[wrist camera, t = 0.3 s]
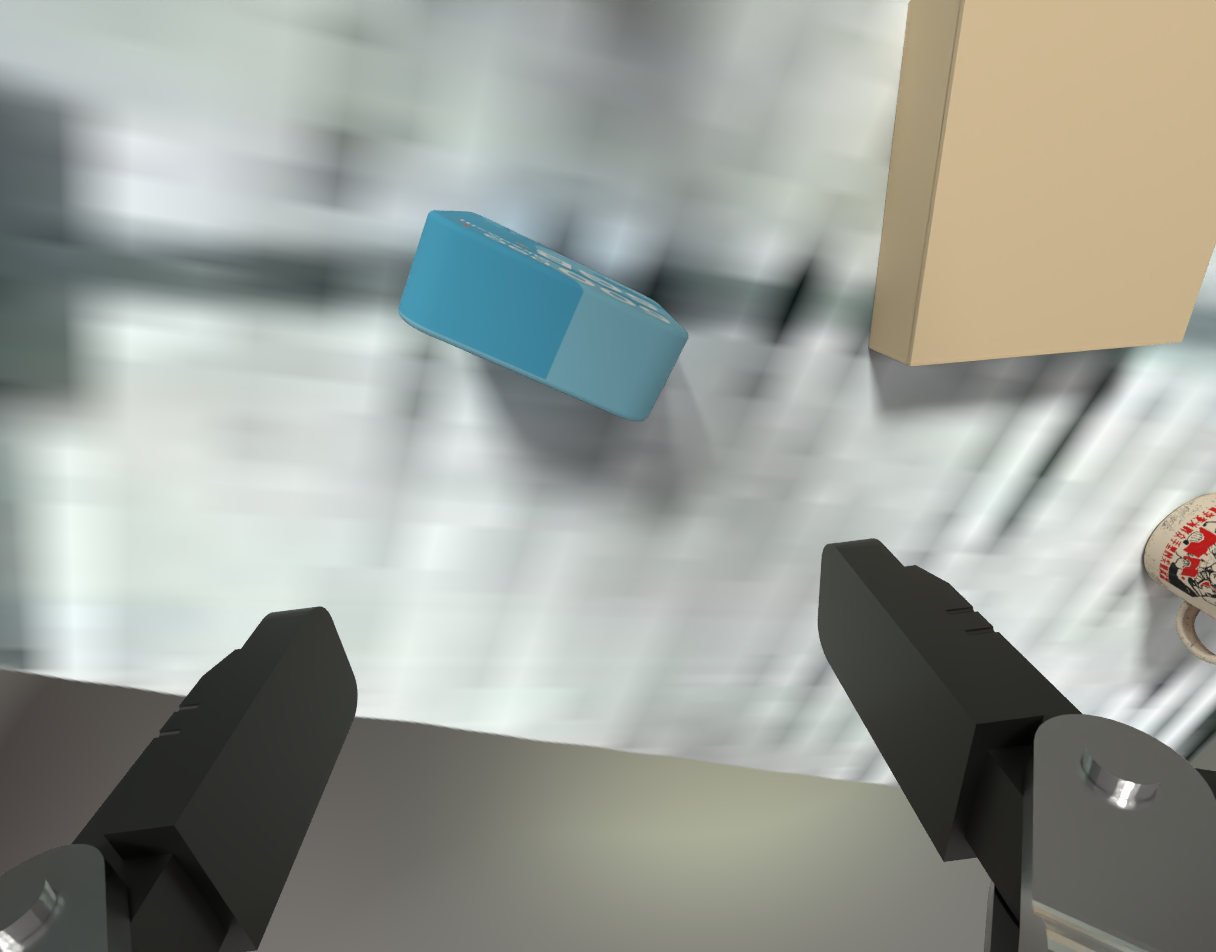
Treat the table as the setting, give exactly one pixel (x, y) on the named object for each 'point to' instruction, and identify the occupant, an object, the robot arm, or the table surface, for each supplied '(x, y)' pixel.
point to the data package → (539, 314)
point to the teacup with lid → (1187, 565)
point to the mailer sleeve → (1047, 178)
